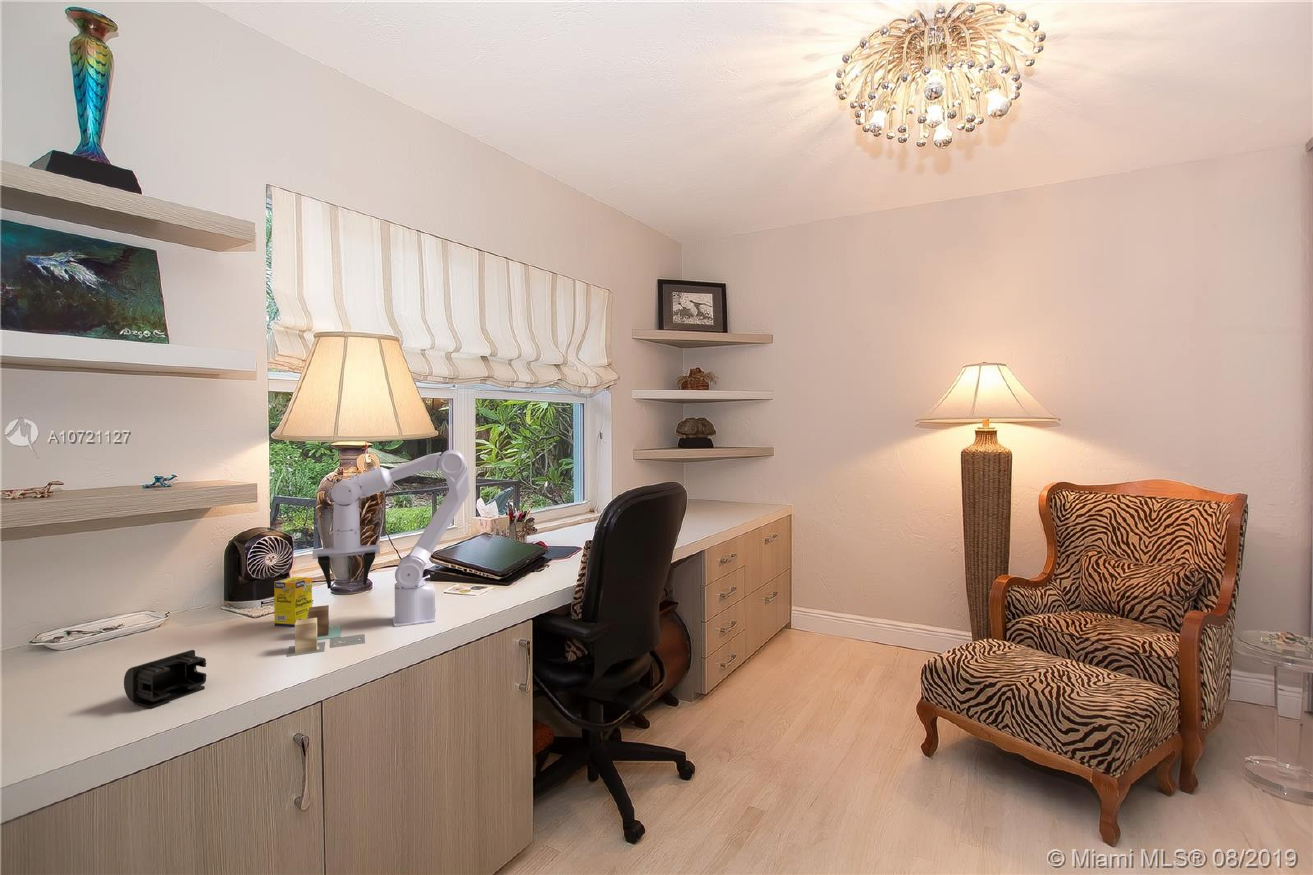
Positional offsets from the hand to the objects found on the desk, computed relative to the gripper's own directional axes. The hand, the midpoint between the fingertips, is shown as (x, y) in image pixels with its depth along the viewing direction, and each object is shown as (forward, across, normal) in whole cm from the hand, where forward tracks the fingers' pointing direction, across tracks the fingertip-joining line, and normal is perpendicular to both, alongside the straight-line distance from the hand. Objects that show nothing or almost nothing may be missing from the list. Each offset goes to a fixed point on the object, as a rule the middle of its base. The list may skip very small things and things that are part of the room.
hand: (347, 585), depth 153 cm
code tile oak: (+10, +8, +14) cm, 19 cm away
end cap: (+10, +29, +30) cm, 43 cm away
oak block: (+10, +8, +14) cm, 19 cm away
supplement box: (+10, +12, -9) cm, 18 cm away
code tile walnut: (+10, 0, +12) cm, 16 cm away
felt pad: (+10, +6, +4) cm, 12 cm away
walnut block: (+10, +6, +4) cm, 12 cm away
